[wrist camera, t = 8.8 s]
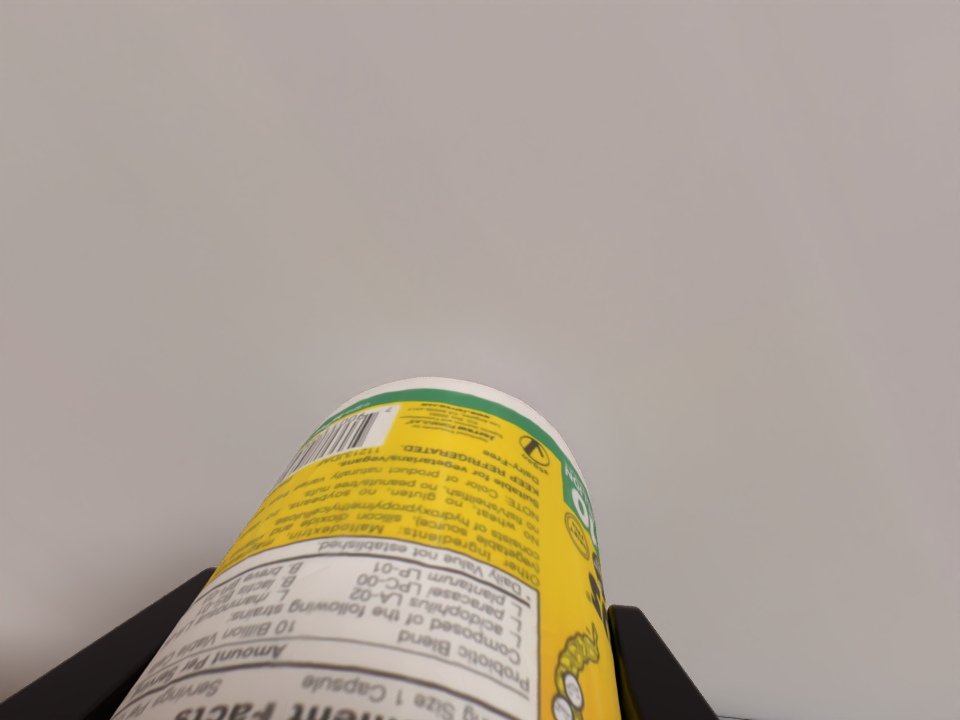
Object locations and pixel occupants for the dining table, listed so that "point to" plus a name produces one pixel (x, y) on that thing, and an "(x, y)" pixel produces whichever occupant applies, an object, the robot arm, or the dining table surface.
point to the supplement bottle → (403, 577)
